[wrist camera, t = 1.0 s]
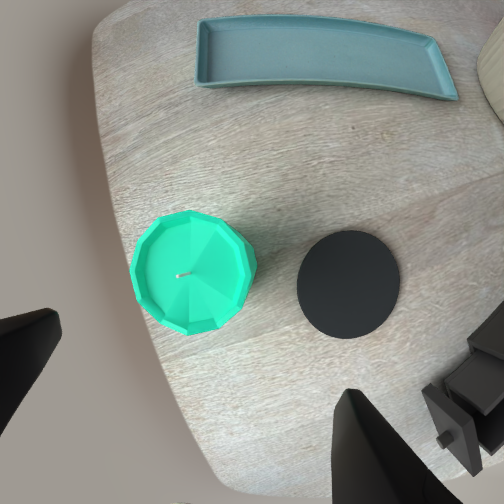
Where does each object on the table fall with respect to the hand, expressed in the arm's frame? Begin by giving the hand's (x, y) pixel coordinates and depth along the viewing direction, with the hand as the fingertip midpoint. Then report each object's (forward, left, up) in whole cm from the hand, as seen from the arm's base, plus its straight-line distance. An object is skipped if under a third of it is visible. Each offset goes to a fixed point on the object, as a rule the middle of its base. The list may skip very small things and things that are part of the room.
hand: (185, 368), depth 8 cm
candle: (+1, +3, -17) cm, 17 cm away
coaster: (+7, -6, -16) cm, 19 cm away
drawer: (+12, -26, -16) cm, 33 cm away
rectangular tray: (+23, +9, -17) cm, 29 cm away
